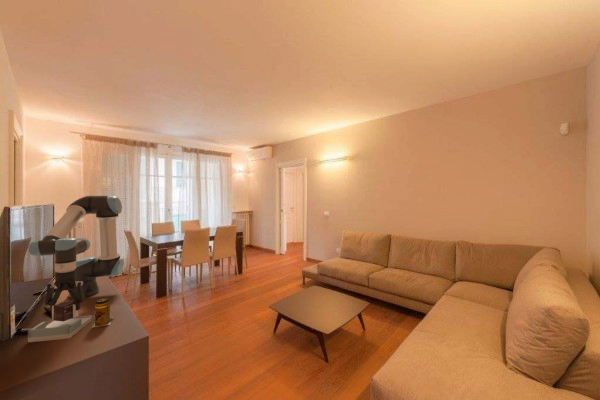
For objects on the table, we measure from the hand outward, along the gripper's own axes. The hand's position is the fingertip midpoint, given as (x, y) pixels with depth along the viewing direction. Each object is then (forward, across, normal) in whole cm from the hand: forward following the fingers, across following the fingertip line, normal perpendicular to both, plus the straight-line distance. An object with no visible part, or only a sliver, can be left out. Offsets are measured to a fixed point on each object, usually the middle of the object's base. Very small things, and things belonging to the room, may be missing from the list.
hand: (65, 317), depth 118 cm
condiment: (+6, +14, +3) cm, 16 cm away
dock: (+5, 0, -2) cm, 5 cm away
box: (+1, 0, 0) cm, 1 cm away
